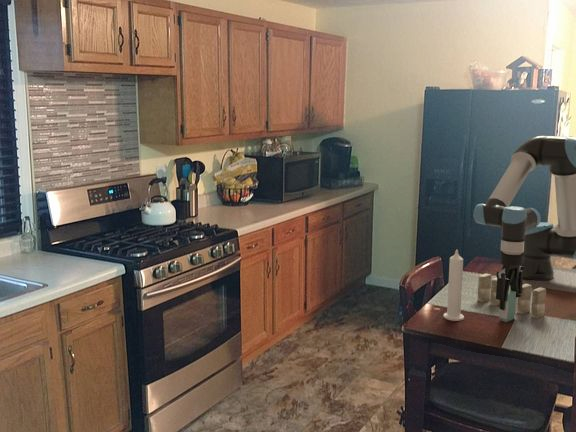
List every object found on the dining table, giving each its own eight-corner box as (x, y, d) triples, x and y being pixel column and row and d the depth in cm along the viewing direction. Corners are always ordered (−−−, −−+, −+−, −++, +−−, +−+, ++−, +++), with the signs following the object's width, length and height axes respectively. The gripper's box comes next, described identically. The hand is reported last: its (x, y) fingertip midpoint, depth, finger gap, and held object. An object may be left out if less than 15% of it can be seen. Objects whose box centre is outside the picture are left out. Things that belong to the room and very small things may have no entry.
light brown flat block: (477, 300, 225) (478, 275, 223) (485, 298, 228) (486, 273, 226) (482, 302, 223) (483, 277, 221) (490, 299, 226) (491, 274, 224)
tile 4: (489, 304, 221) (491, 279, 219) (497, 301, 224) (499, 276, 222) (495, 306, 219) (496, 280, 217) (502, 303, 222) (504, 278, 220)
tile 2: (516, 312, 212) (518, 286, 210) (524, 309, 215) (526, 283, 213) (522, 314, 211) (524, 287, 209) (529, 311, 214) (531, 285, 212)
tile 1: (530, 317, 208) (532, 290, 206) (538, 313, 211) (540, 287, 209) (536, 318, 206) (538, 291, 204) (544, 315, 209) (546, 288, 207)
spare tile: (500, 320, 205) (502, 293, 203) (508, 316, 208) (510, 290, 206) (506, 322, 204) (507, 294, 202) (514, 318, 207) (516, 291, 205)
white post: (453, 322, 204) (456, 252, 199) (439, 316, 210) (442, 248, 205) (468, 318, 207) (471, 250, 202) (454, 312, 213) (457, 245, 208)
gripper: (516, 245, 209) (512, 307, 214) (486, 254, 199) (483, 319, 203) (536, 249, 204) (531, 313, 208) (506, 258, 193) (502, 325, 197)
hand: (507, 316), depth 206 cm, fingers closed on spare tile, 5 cm apart
